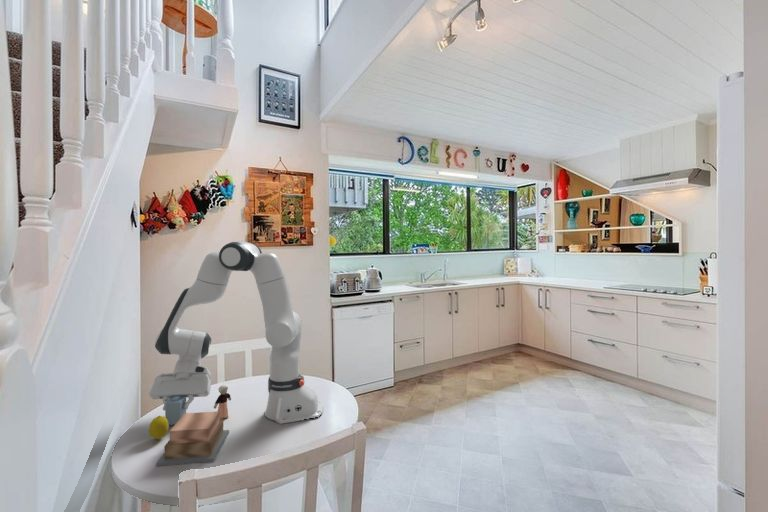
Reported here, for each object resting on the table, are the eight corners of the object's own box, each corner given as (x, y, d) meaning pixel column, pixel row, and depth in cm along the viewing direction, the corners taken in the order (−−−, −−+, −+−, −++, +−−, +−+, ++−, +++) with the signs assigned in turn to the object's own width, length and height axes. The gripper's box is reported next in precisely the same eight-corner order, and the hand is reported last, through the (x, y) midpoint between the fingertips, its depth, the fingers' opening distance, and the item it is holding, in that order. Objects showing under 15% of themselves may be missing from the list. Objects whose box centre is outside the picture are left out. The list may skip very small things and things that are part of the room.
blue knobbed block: (186, 417, 127) (186, 393, 127) (180, 424, 122) (180, 400, 122) (171, 417, 127) (171, 394, 126) (165, 425, 122) (165, 400, 121)
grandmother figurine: (221, 423, 125) (221, 389, 125) (211, 422, 126) (212, 388, 125) (234, 413, 132) (234, 381, 132) (225, 412, 133) (225, 380, 133)
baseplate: (229, 432, 119) (229, 429, 119) (214, 461, 103) (214, 458, 103) (179, 436, 116) (179, 433, 116) (156, 466, 101) (156, 462, 101)
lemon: (146, 445, 111) (146, 421, 111) (152, 436, 116) (152, 413, 116) (165, 442, 112) (165, 419, 112) (170, 433, 118) (171, 411, 117)
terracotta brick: (223, 432, 117) (223, 409, 117) (210, 455, 104) (210, 430, 104) (182, 435, 115) (182, 412, 115) (164, 459, 102) (164, 433, 102)
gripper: (154, 370, 129) (140, 408, 120) (211, 368, 132) (202, 404, 123) (159, 377, 134) (147, 414, 124) (215, 374, 137) (207, 410, 128)
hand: (175, 409), depth 124 cm, fingers closed on blue knobbed block, 5 cm apart
